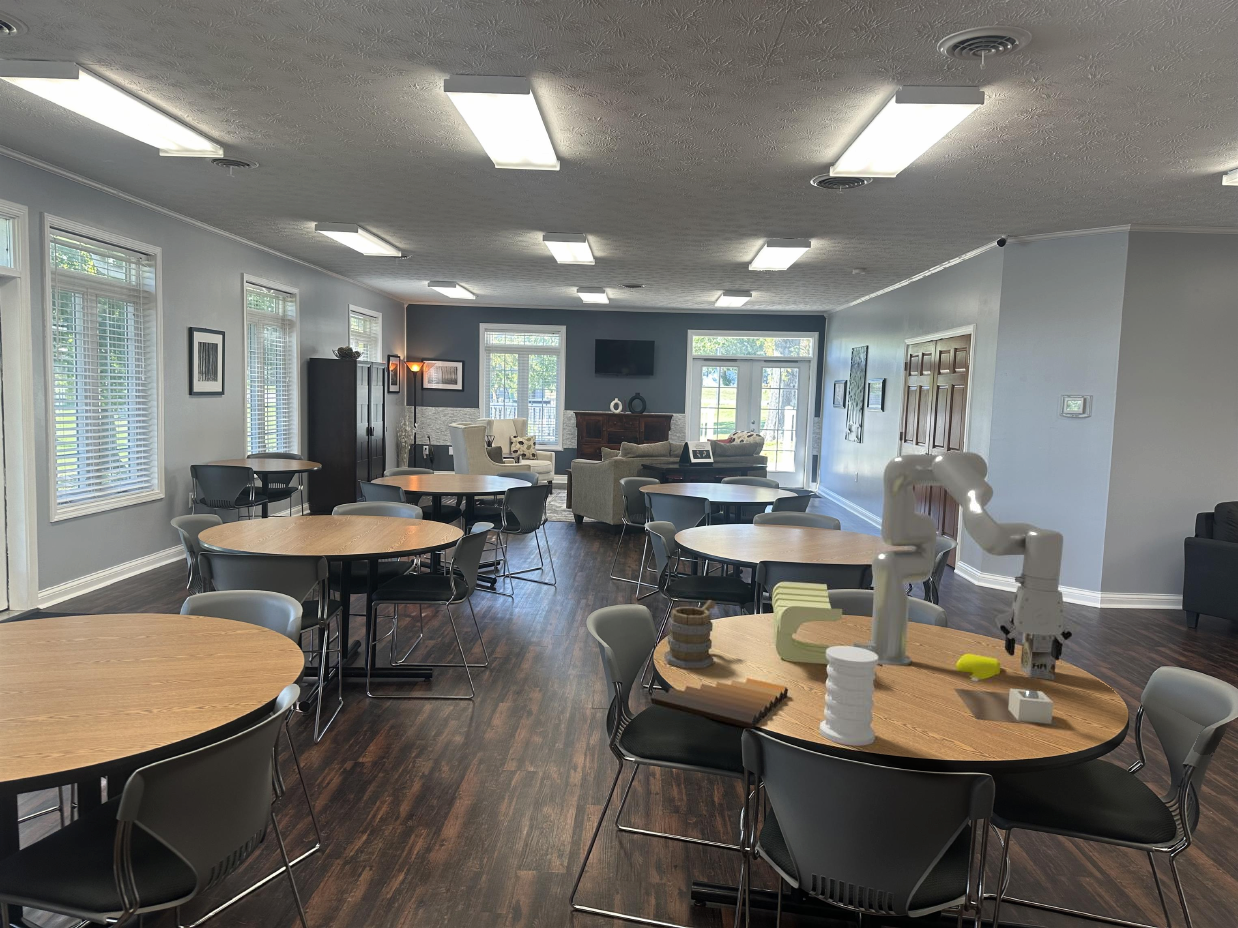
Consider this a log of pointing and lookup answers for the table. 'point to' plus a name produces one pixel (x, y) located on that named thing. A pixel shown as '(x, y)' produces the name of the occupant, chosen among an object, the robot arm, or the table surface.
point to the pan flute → (726, 701)
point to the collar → (1030, 707)
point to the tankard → (690, 637)
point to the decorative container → (849, 696)
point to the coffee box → (1038, 656)
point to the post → (1031, 694)
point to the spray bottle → (978, 666)
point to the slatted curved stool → (800, 619)
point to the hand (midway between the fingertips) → (1032, 655)
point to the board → (992, 706)
